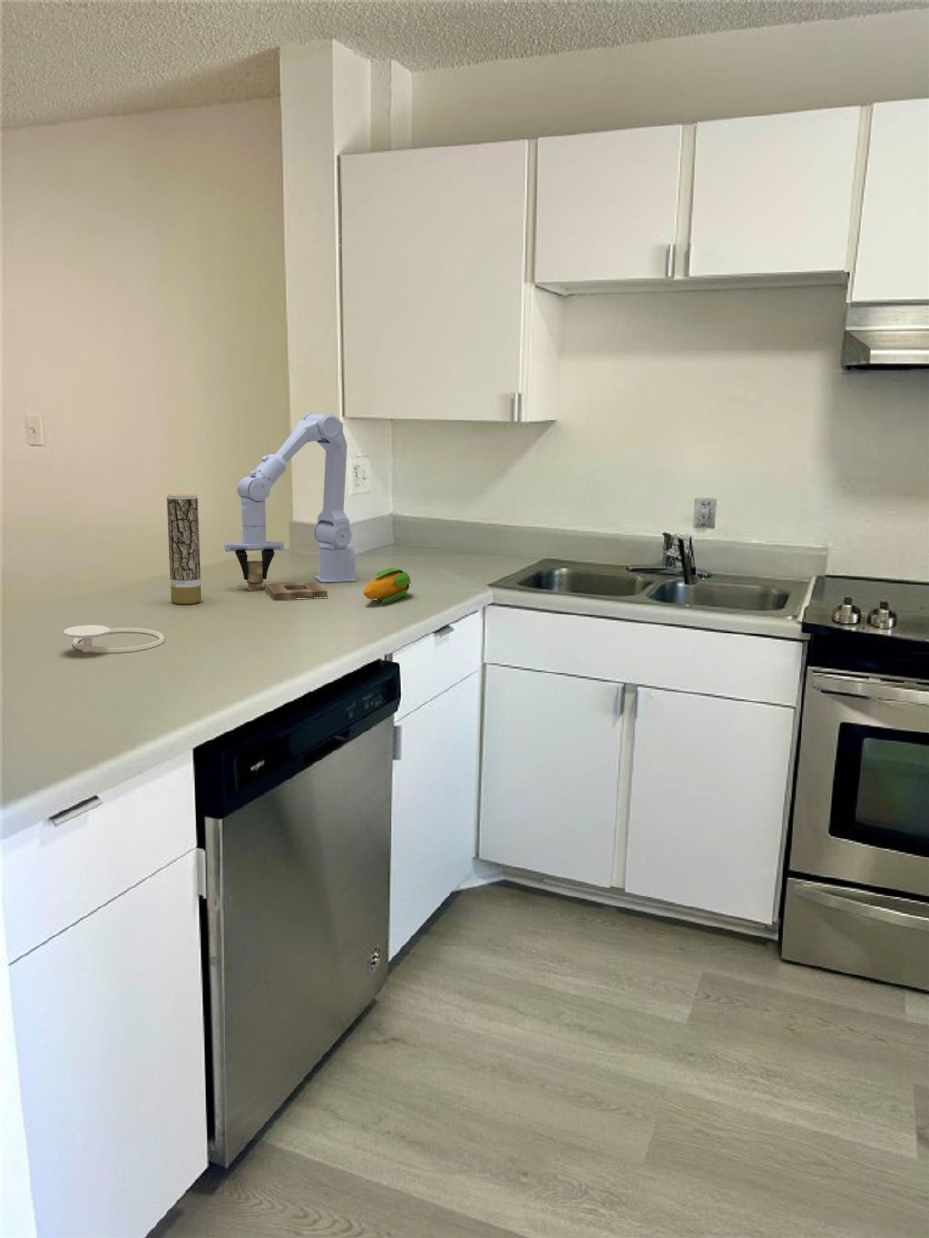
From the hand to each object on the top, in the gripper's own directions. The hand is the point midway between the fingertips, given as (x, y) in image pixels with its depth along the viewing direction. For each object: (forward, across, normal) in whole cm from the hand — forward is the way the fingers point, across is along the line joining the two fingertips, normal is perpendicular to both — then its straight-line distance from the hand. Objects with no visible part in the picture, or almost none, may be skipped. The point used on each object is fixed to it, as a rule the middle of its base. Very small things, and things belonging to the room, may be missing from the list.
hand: (255, 578), depth 232 cm
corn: (+3, -28, +21) cm, 35 cm away
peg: (+3, 0, 0) cm, 3 cm away
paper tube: (+3, +18, +12) cm, 22 cm away
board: (+3, -8, +9) cm, 13 cm away
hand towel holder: (+3, +35, +47) cm, 59 cm away
